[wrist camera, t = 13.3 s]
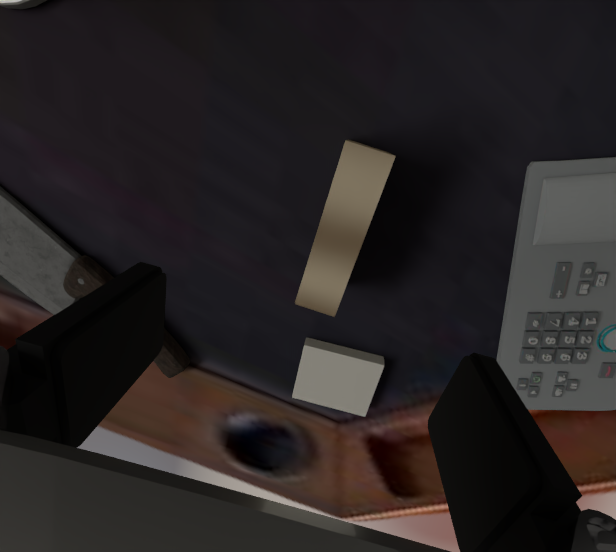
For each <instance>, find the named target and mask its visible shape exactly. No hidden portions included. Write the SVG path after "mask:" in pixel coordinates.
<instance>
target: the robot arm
mask: <svg viewBox="0 0 616 552" xmlns="http://www.w3.org/2000/svg"><path fill="white" fill-rule="evenodd" d="M45 1H47V0H0V6H2V7H5V8H11V9H26V8H31V7H36V6H37V5H39V4H41V3H43V2H45ZM165 299H166V274H165V273H162V270H161V268H160V267H157V266H154V265H150V264H146V263H142V262H140V263H137V264H136V265H134V266H133V267H131V268H129V269H128V270H126V271H125V272H123V273H121V274H120V275H118V276H117V277H115V278H113V279H112V280H110V281H108V282H107V283H105V284H104V285H102V286H100V287H99V288H97V289H96V290H94V291H92V292H91V293H89V294H88V295H86V296H84V297H83V298H81V299H79V300H78V301H76V302H75V303H73V304H71V305H70V306H68V307H67V308H65V309H63V310H62V311H60V312H59V313H57V314H55V315H54V316H52V317H50V318H49V319H47V320H46V321H44V322H42V323H41V324H39V325H38V326H36V327H34V328H33V329H31V330H30V331H28V332H26V333H25V334H23V335H22V336H20V337H18V338H17V339H15V340H16V345H14V346H13V347H11V348H9V349H8V350H6V349H5V348H4V347H2V346H0V552H450V551H447V550H443V549H440V548H436V547H433V546H429V545H425V544H422V543H419V542H415V541H412V540H408V539H405V538H401V537H398V536H394V535H391V534H387V533H384V532H380V531H377V530H373V529H370V528H366V527H362V526H359V525H355V524H352V523H348V522H345V521H341V520H338V519H334V518H331V517H327V516H324V515H320V514H316V513H312V512H309V511H306V510H302V509H298V508H295V507H291V506H288V505H284V504H281V503H277V502H273V501H270V500H266V499H263V498H259V497H256V496H252V495H248V494H245V493H241V492H237V491H234V490H230V489H227V488H223V487H219V486H216V485H212V484H208V483H205V482H201V481H198V480H194V479H190V478H187V477H183V476H179V475H176V474H172V473H169V472H165V471H161V470H157V469H154V468H150V467H147V466H143V465H139V464H136V463H132V462H128V461H124V460H121V459H117V458H114V457H109V456H106V455H103V454H99V453H95V452H90V451H87V450H83V449H79V448H77V447H78V446H80V445H81V444H82V443H83V442H84V441H85V439H86V438H87V437H88V436H89V435H90V434H91V432H92V431H93V430H94V429H95V428H96V427H97V426H98V424H99V423H100V422H101V421H102V420H103V419H104V417H105V416H106V415H107V414H108V413H109V412H110V410H111V409H112V408H113V407H114V406H115V405H116V403H117V402H118V401H119V400H120V399H121V398H122V396H123V395H124V394H125V393H126V392H127V391H128V389H129V388H130V387H131V386H132V385H133V384H134V383H135V381H136V380H137V379H138V378H139V377H140V376H141V374H142V373H143V372H144V371H145V370H146V369H147V367H148V366H149V365H150V364H151V363H152V362H153V360H154V359H155V358H156V357H157V356H158V355H159V353H160V351H161V349H162V346H163V339H164V319H165ZM428 430H429V434H430V438H431V442H432V445H433V449H434V453H435V457H436V461H437V465H438V469H439V473H440V476H441V480H442V484H443V488H444V492H445V496H446V500H447V503H448V507H449V511H450V515H451V519H452V523H453V527H454V530H455V534H456V538H457V542H458V546H459V549H460V552H616V520H615V519H613V518H612V517H610V516H608V515H606V514H604V513H601V512H599V511H595V510H591V509H587V510H583V511H581V510H580V509H579V507H578V505H577V504H576V501H577V500H578V499H580V498H581V497H582V495H581V493H580V492H579V490H578V488H577V487H576V485H575V484H574V482H573V480H572V479H571V477H570V476H569V474H568V473H567V471H566V469H565V468H564V466H563V465H562V463H561V462H560V460H559V458H558V457H557V455H556V454H555V452H554V451H553V449H552V447H551V446H550V444H549V443H548V441H547V439H546V438H545V436H544V435H543V433H542V432H541V430H540V428H539V427H538V425H537V424H536V422H535V421H534V419H533V417H532V416H531V414H530V413H529V411H528V409H527V408H526V406H525V405H524V403H523V402H522V400H521V398H520V397H519V395H518V394H517V392H516V391H515V389H514V387H513V386H512V384H511V383H510V381H509V379H508V378H507V376H506V375H505V373H504V372H503V370H502V368H501V367H500V365H499V364H498V362H497V361H496V360H495V359H494V358H492V357H488V356H484V355H481V354H477V353H472V354H471V355H470V356H465V357H464V358H463V359H462V361H461V362H460V364H459V366H458V368H457V369H456V371H455V373H454V375H453V376H452V378H451V380H450V382H449V383H448V385H447V387H446V389H445V390H444V392H443V394H442V396H441V397H440V399H439V401H438V403H437V404H436V406H435V408H434V409H433V411H432V413H431V415H430V417H429V420H428Z"/></svg>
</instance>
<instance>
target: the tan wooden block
mask: <svg viewBox="0 0 616 552" xmlns="http://www.w3.org/2000/svg"><path fill="white" fill-rule="evenodd" d="M395 157H396V156H394V155H392V154H390V153H388V152H386V151H383V150H379V149H376V148H373V147H370V146H367V145H364V144H361V143H357V142H354V141H351V140H345V144H344V147H343V150H342V153H341V157H340V160H339V163H338V166H337V169H336V173H335V176H334V179H333V182H332V185H331V189H330V192H329V195H328V198H327V202H326V205H325V208H324V211H323V214H322V218H321V221H320V224H319V227H318V231H317V234H316V237H315V240H314V243H313V247H312V250H311V253H310V256H309V259H308V263H307V266H306V269H305V272H304V276H303V279H302V282H301V285H300V288H299V292H298V295H297V298H296V301H295V304H297V305H300V306H303V307H306V308H309V309H312V310H315V311H318V312H321V313H324V314H327V315H331V316H334V317H335V314H336V312H337V309H338V306H339V304H340V301H341V299H342V296H343V293H344V291H345V288H346V285H347V283H348V280H349V278H350V275H351V272H352V270H353V267H354V264H355V262H356V259H357V257H358V254H359V251H360V249H361V246H362V243H363V241H364V238H365V236H366V233H367V230H368V228H369V225H370V223H371V220H372V217H373V215H374V212H375V209H376V207H377V204H378V202H379V199H380V196H381V194H382V191H383V188H384V186H385V183H386V181H387V178H388V175H389V173H390V170H391V167H392V165H393V162H394V160H395Z"/></svg>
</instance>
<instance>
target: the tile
mask: <svg viewBox="0 0 616 552" xmlns="http://www.w3.org/2000/svg"><path fill="white" fill-rule="evenodd" d="M384 366H385V365H384V357H383V356H379V355H375V354H371V353H367V352H363V351H359V350H355V349H351V348H347V347H343V346H339V345H335V344H331V343H327V342H323V341H319V340H315V339H311V338H307V337H306V341H305V344H304V349H303V353H302V357H301V361H300V365H299V370H298V374H297V378H296V382H295V386H294V391H293V395H292V398H296V399H300V400H304V401H307V402H311V403H315V404H319V405H322V406H326V407H330V408H334V409H338V410H341V411H345V412H349V413H353V414H356V415H360V416H364V417H365V416H366V413H367V410H368V408H369V405H370V403H371V400H372V397H373V395H374V392H375V389H376V387H377V384H378V381H379V379H380V376H381V374H382V371H383V368H384Z"/></svg>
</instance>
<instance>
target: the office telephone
mask: <svg viewBox="0 0 616 552" xmlns="http://www.w3.org/2000/svg"><path fill="white" fill-rule="evenodd" d="M599 345H600V346H599ZM497 362H498V364H499V365H500V367H501V368H502V370H503V372H504V373H505V375H506V376H507V378H508V379H509V381H510V383H511V384H512V386H513V387H514V389H515V391H516V392H517V394H518V395H519V397H520V398H521V400H522V402H523V403H524V405H525V406H526V408H527V409H534V410H590V411H603V410H616V157H609V158H593V159H578V160H562V161H537V162H531V163H530V164H529V166H528V167H527V172H526V178H525V183H524V189H523V195H522V201H521V207H520V214H519V220H518V227H517V233H516V239H515V246H514V252H513V259H512V265H511V272H510V278H509V285H508V291H507V297H506V304H505V310H504V317H503V323H502V329H501V336H500V342H499V349H498V355H497Z"/></svg>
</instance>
